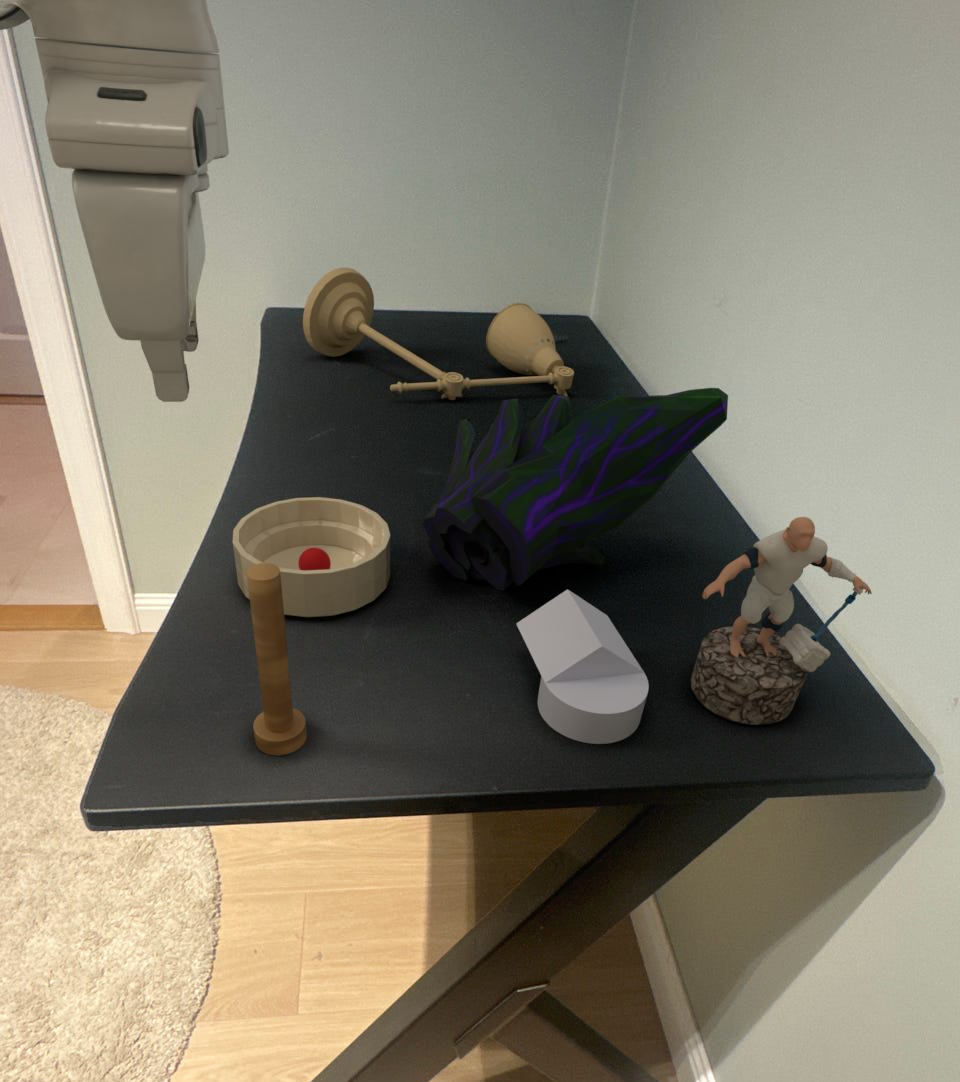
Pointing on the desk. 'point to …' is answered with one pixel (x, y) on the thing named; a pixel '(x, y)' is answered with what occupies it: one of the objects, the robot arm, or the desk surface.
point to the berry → (314, 560)
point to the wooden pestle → (273, 665)
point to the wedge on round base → (584, 671)
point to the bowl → (317, 523)
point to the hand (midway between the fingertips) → (180, 371)
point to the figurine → (766, 631)
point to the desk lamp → (344, 320)
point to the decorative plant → (560, 480)
